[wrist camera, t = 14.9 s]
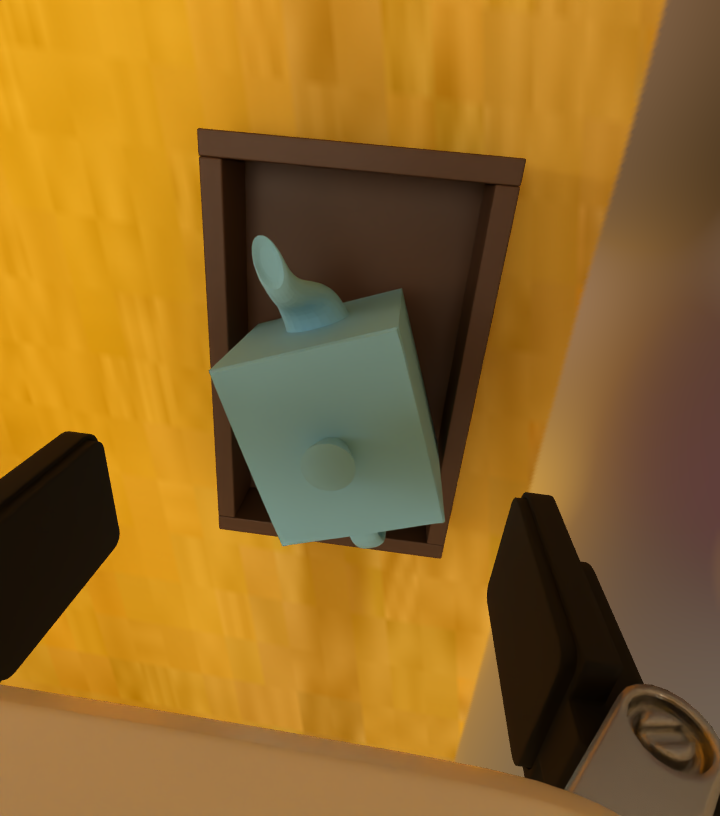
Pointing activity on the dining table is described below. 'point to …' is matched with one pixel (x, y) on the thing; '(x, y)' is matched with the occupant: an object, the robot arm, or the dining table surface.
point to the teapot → (332, 412)
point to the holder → (358, 272)
